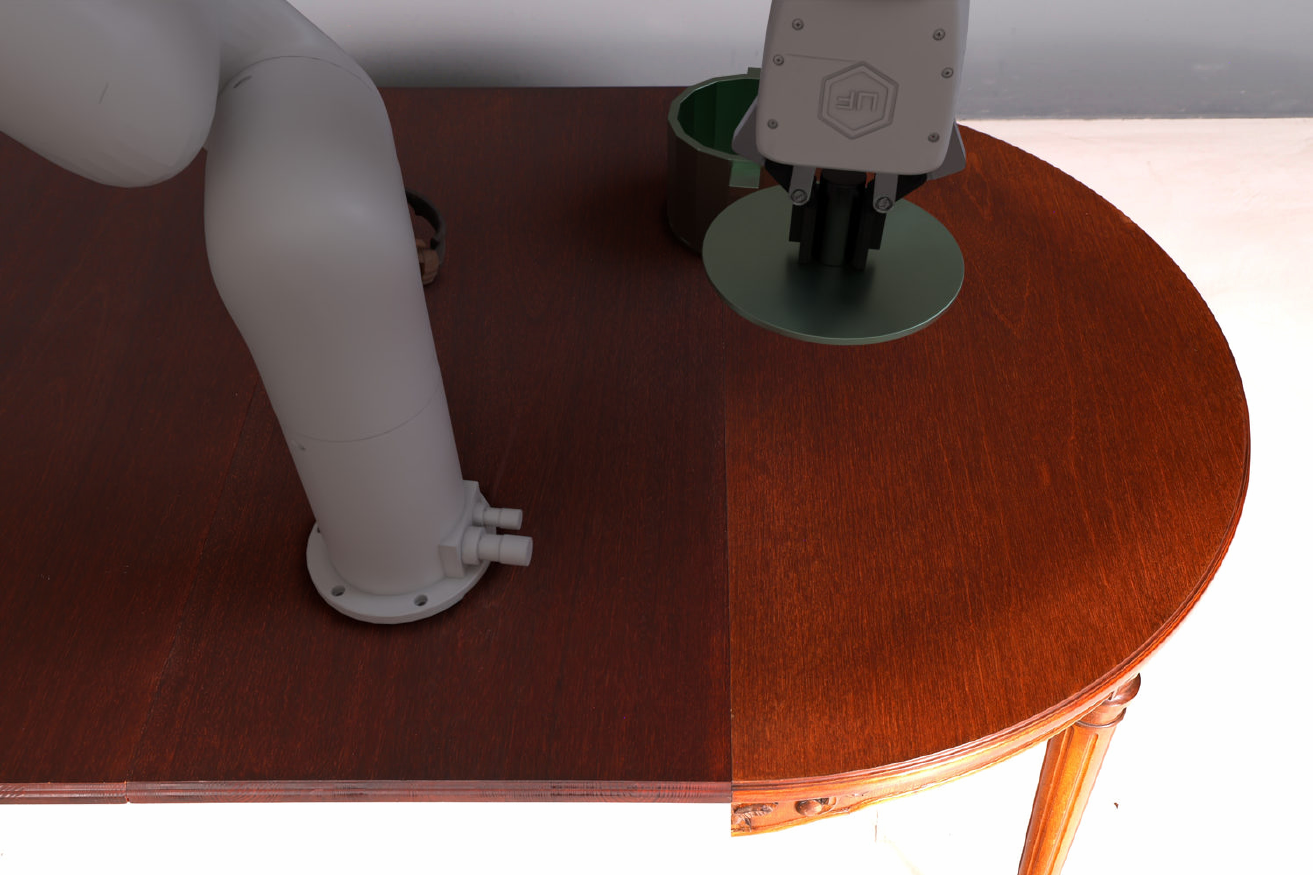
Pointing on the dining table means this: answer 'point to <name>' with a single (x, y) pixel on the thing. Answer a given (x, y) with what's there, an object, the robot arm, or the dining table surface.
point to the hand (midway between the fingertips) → (832, 250)
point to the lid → (832, 266)
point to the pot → (710, 155)
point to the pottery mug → (436, 252)
